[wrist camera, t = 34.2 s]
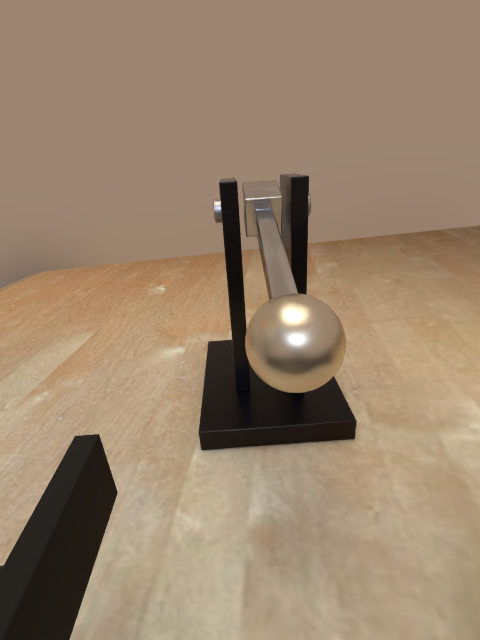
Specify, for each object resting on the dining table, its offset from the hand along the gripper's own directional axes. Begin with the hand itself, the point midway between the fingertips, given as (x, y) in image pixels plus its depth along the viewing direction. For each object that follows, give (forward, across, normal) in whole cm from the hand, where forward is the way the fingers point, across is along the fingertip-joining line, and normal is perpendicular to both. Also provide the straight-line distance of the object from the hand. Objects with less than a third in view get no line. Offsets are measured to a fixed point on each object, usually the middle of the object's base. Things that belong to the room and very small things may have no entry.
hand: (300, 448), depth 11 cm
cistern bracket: (+14, 0, -8) cm, 16 cm away
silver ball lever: (+8, 0, +3) cm, 9 cm away
